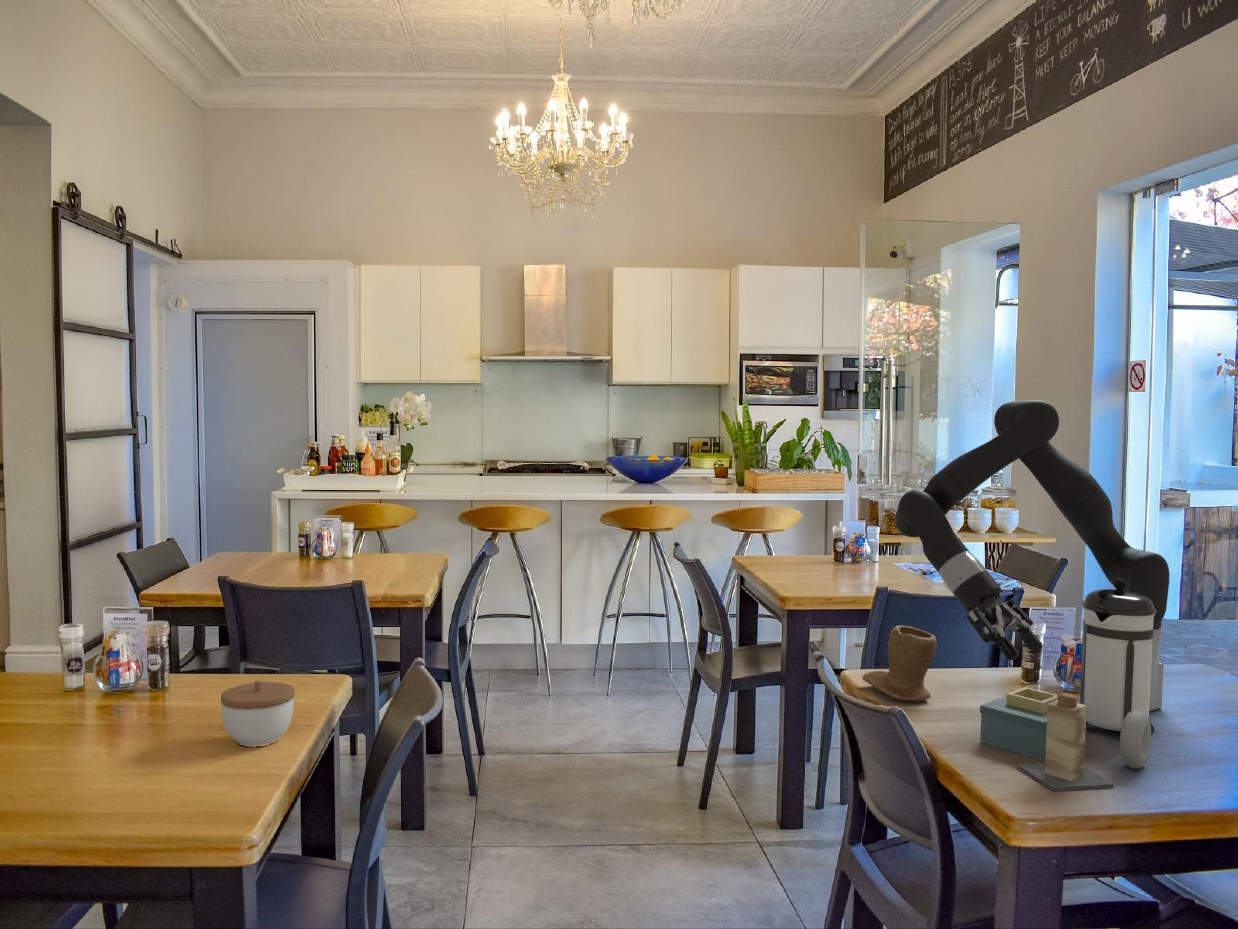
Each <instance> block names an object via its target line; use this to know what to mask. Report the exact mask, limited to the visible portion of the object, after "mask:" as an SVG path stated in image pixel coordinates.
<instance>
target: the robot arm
mask: <svg viewBox="0 0 1238 929" xmlns="http://www.w3.org/2000/svg"><path fill="white" fill-rule="evenodd" d="M1059 416H1060V415H1059V413H1058V411H1057V409H1056V407H1055V406H1054V405H1053V404H1051V403H1050V402H1048V401H1044V400H1041V399H1040V400H1038V399H1032V400H1031V399H1027V400H1014V401H1009V402H1006V403H1003V404H1002V405H1000V406H999V407H998V408H997V410H996V411H995V414H994V418H993V423H994V429H995V431H996V433H997V436H995V437H993V438H992V439H990V440H988V441H987V442H985V443H983V444H981V445H979V446H977V447H975V448H973V449H970V450H969V451H967V452H965V453H963V454H961V455H959V456H958V457H957V458H955V459H953V460H952V461H951V462H949V463H948V464H946V466H944V467H942V469H940V470H939V471H938V472H937V473H936V474H935V475H933V476H932V477H931V479H929V481H928V482H927V483H926V484H927V485H926V486H925V487H924V489H923V490H919V489H915V490H914V489H912V490H909V491H907V492H906V493H904V494H903V495H902V496H901V498H900V499H899V503H898V504H897V505H898V507H897V509H896V513H895V519H894V521H895V526H896V528H897V530H898V532H899V533H900V534H902V535H903V536H905V537H908V538H918V537H919V539H920V541H921V544H922V551H923V553H924V554H923V555H925V556H924V557H926V560H928V562H929V563H930V564H931V565H932V567H933V568H934V569H935V570H936V572H937V573H938V574H939V576H940V578H941V579H942V581H943V583H944V584H945V585H946V587H947V588H948V589H949V590H950V592H951V593H952V594H953V596H954V597H955V599H956V600H957V601H958V602H959V603H960V605H961V606H962V607H963V609H964V610H965V611H966V612H967V613H968V614H966V616H965V617H966V619H967V620H968V621H969V623H970V624H971V626H972V627H973V628H974V629H975V631H976V632H977V634H978V635H979V637H980V638H981V639H982V641H984V643H986V644H988V643H989V642H990V643H992V644H993V645H996V647H998V649H999V650H1000V651H1001V653H1002V654H1003V655H1004V656H1005V658H1006V659H1007V660H1008V661H1014V660H1016V658H1018V657H1020V651H1019V650H1018V649H1017V648H1016V646H1015V645H1014V644H1013V643H1012V642H1011V640H1010V639H1009V637H1007V636H1006V635H1005V631H1004V629H1005V630H1006V631H1012V632H1014V634H1016V635H1018V636H1020V637H1019V638H1020V639H1021V640H1022V641H1023V643H1024V644H1025V645H1026V647H1027V648H1028V649H1029V650H1030V652H1032V653H1033V654H1034V653H1037V652H1039V651H1040V650H1042V648H1044V645H1043V643H1042V642H1041V640H1039V638H1038V637H1037V636H1036V635H1035V634H1034V632H1033V630H1032V629H1031V628H1032V627H1031V626H1033V625H1034V621H1033V620H1032V619H1031V618H1030V616H1029V615H1028V614H1027V613H1026V612H1025V611H1024V610H1023V609H1022V608H1021V606H1020V605H1019V603H1018V602H1017V601H1015V599H1014V598H1012V597H1011V598H1009V599H1008V600H1006V601H1004V600H1003V599H1002V598H1000V594H1001V593H1002V588H1001V586H1000V584H999V583H998V582H997V581H996V580H995V579H994V577H993V576H992V575H991V573H989V571H988V570H987V569H986V567H984V565H983V564H982V563H981V562H980V560H979V559H978V558H977V557H976V556H975V555H974V554H973V553H971V551H970V550H969V548H968V547H967V546H966V545H965V544H964V543H963V542H962V540H961V539H960V537H958V536H957V535H956V533H955V532H954V530H953V527H952V526H951V524H950V522H949V520H948V518H947V516H946V515H947V514H948V513H949V512H950V510H951V509H953V508H954V506H956V505H957V504H959V503H960V502H961V501H962V500H964V499H965V498H966V497H967V496H968V495H970V494H971V493H972V492H973V491H975V490H976V489H977V488H978V487H979V486H981V485H982V484H984V483H985V482H986V481H987V480H989V479H990V478H991V477H993V476H994V475H995V474H997V473H998V472H1000V471H1001V470H1003V469H1004V468H1006V467H1008V466H1009V465H1011V463H1014V462H1015V461H1017V460H1018V459H1019V461H1020V462H1022V464H1024V466H1025V467H1026V468H1027V469H1028V471H1030V473H1031V474H1032V476H1033V477H1034V478H1035V479H1036V480H1037V482H1038V483H1039V484H1040V486H1041V487H1042V488H1043V489H1044V491H1045V492H1046V493H1047V495H1048V496H1049V497H1050V499H1051V500H1052V502H1053V504H1054V505H1055V506H1056V508H1057V509H1058V511H1060V512H1061V513H1060V514H1062V515H1063V516H1064V518H1065V519H1066V520H1067V522H1068V523H1069V524H1070V525H1071V526H1072V527H1073V529H1074V531H1076V533H1077V534H1078V536H1079V538H1081V540H1082V541H1083V542H1084V543H1085V545H1086V546H1087V547H1088V549H1089V550H1090V552H1091V554H1092V555H1093V557H1094V559H1095V560H1096V562H1097V564H1098V566H1099V568H1100V569H1101V571H1102V573H1103V574H1104V576H1105V578H1106V579H1107V580H1108V582H1109V583H1110V584H1111V585H1113V582H1114V581H1115V580H1116V579H1119V578H1120V579H1123V580H1124V581H1125V582H1126V587H1125V588H1124V589H1122V590H1126V591H1132V592H1136V593H1140V594H1142V595H1145V596H1146V597H1148V598H1149V599H1150V600H1151V601H1152V603H1153V606H1154V607H1155V608H1156V614H1155V615H1154V619H1153V627H1154V638H1153V640H1152V660H1151V681H1150V701H1149V712H1152V711H1156V710H1158V709H1162V706H1163V684H1164V665H1165V664H1164V663H1163V662H1160V657H1161V633H1162V622H1163V619H1164V617H1165V615H1166V613H1167V606H1168V599H1169V598H1168V596H1169V589H1170V588H1169V587H1170V569H1169V564H1168V561H1167V560H1166V558H1165V557H1163V556H1162V555H1161V554H1159V553H1156V552H1152V551H1147V550H1141V549H1137V548H1135V547H1133V546H1131V545H1130V544H1129V543H1128V542H1127V541H1126V540H1125V539H1124V537H1122V536H1121V534H1120V533H1119V532H1118V530H1117V528H1116V526H1115V524H1114V519H1113V516H1114V515H1113V507H1112V502H1111V499H1110V498H1109V496H1108V494H1107V493H1106V492H1105V490H1104V489H1103V487H1102V486H1101V485H1100V483H1099V482H1098V481H1097V480H1096V478H1095V477H1094V476H1093V475H1092V474H1091V473H1090V472H1089V471H1088V470H1087V469H1085V468H1084V467H1083V466H1081V465H1080V464H1078V463H1077V462H1075V461H1074V460H1072V459H1071V458H1070V457H1068V456H1066V455H1065V454H1063V453H1062V452H1061V451H1059V450H1058V449H1057V448H1056V447H1054V445H1053V444H1051V442H1050V441H1051V440H1052V439H1053V438H1054V437H1055V435H1056V434H1057V432H1058V429H1059V426H1060V417H1059Z"/></svg>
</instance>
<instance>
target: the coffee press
mask: <svg viewBox="0 0 1238 929" xmlns="http://www.w3.org/2000/svg"><path fill="white" fill-rule="evenodd" d="M1112 586H1113V588H1115V589H1112V588H1105V589H1097V590H1093V591H1090V592H1089V593H1088V594H1087V595H1086V596H1085V598H1084V600H1082V601H1081V606H1082V609H1083V619H1082V621H1081V631H1082V642H1081V644H1082V645H1081V665H1080V666H1081V667H1080V688H1079V690H1080V692H1079V703H1080V704H1084V705H1087V713H1086V726H1087V725H1092V726H1094V727H1096V728H1097V727H1098V728H1100V729H1105V730H1109V731H1110V730H1111V731H1117V732H1118V733H1120V735H1121V728H1122V724H1123V721H1124V718H1125V717H1126V715H1127V714H1128V713H1129V712H1132V711H1135V710H1136V711H1141V712H1143V713H1144V714H1145V715H1146V716H1147V717H1148V719H1149V720H1150V711H1149V701H1150V681H1151V660H1152V640H1153V638H1154V627H1153V619H1154V615H1155V614H1156V608H1155V607H1154V606H1153V603H1152V601H1151V600H1150V599H1149V598H1148V597H1146V596H1145V595H1142V594H1140V593H1136V592H1132V591H1126V590H1122V589H1124V588H1125V587H1126V582H1125V581H1124V580H1123V579H1120V578H1119V579H1116V580H1115V581H1114V582H1113V584H1112ZM1150 726H1151V734H1152V733H1154V732H1155V726H1154V725H1153V724H1152V722H1151V721H1150Z"/></svg>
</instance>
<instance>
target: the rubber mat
mask: <svg viewBox="0 0 1238 929" xmlns="http://www.w3.org/2000/svg"><path fill="white" fill-rule="evenodd" d="M1017 769H1019V770H1020V771H1021V772H1023V773H1024V774H1026V773H1027V774H1028V776H1029V777H1031V778H1032V779H1034V780H1035V781H1037V782H1039V783H1040V784H1041V785H1043V786H1044V787H1045V788H1047V789H1049V790H1050V791H1053V792H1058V791H1059V792H1061V791H1075V790H1077V791H1078V790H1079V791H1080V790H1081V791H1082V790H1093V789H1094V790H1095V789H1096V790H1097V789H1112V788H1114V783H1112V782H1111V781H1109V780H1107V779H1106V778H1104V777H1102V776H1100V775H1099V774H1097V773H1095V772H1094V771H1091V770H1090V769H1089V768H1087V767H1085V766H1084V774H1083V775H1082V776H1080V777H1079V778H1077V779H1075V780H1073V781H1069V780H1065V779H1062V778H1059V777H1056V776H1052V775H1049V774H1046V773H1045V763H1031V764H1027V763H1026V764H1018V765H1017ZM1027 774H1026V775H1027Z"/></svg>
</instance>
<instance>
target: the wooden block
mask: <svg viewBox="0 0 1238 929" xmlns="http://www.w3.org/2000/svg"><path fill="white" fill-rule="evenodd" d="M1057 695H1058V699H1057V700H1056V701H1054V702H1051V703H1049V704H1048V707H1047V731H1046V755H1045V760H1044V761H1045V762H1044V764H1045V773H1046V774H1049V775H1052V776H1056V777H1059V778H1062V779H1065V780H1069V781H1073V780H1075V779H1077V778H1079V777H1080V776H1082V775H1083V774H1084V767H1085V753H1086V752H1085V750H1086V749H1085V745H1086V726H1087V725H1086V706H1087V705H1083V704H1078V703H1079V702H1078V696H1077V695H1075V694H1071V693H1067V692H1066V693H1065V692H1063V693H1062V692H1061V693H1058V694H1057Z"/></svg>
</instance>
